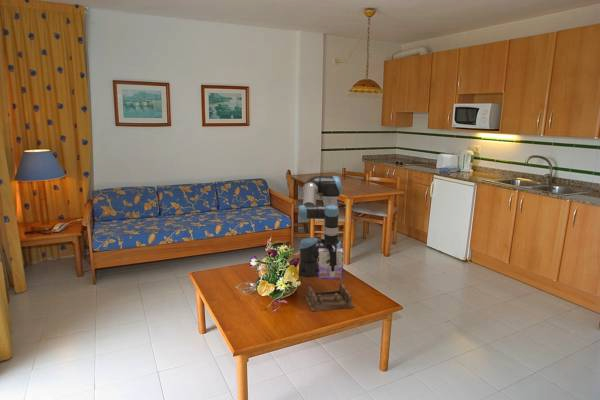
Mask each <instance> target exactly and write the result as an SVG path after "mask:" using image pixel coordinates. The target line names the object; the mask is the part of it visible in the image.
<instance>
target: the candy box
mask: <svg viewBox="0 0 600 400" xmlns="http://www.w3.org/2000/svg"><path fill="white" fill-rule="evenodd" d="M330 252H331V251H330ZM317 262H318V275H317V280H339V281H340V280H343V278H344V248H342V247H340V248H337V250H336V266H335V276H334V277H330V266H329V265H330V253H329V250H328V249H327V248H319V249H318V258H317Z"/></svg>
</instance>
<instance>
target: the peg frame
mask: <svg viewBox="0 0 600 400" xmlns="http://www.w3.org/2000/svg"><path fill="white" fill-rule="evenodd" d="M338 283H339V284H338V286H339V287H338V289H334V290H321V291H320V290H319V291H314V290H313V287H312V286H311V284H308V285H307V294H304V298H305V301H306V303H307V304H308V307H309V309H310V311H311V312H321V311H331V310H342V309H353V308H354V309H355V304H354V303H353V302H352V294H351V293H350V291H349V290H348V289H347V288H346V286H345V284H344V283H343V282H338Z"/></svg>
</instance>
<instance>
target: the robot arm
mask: <svg viewBox="0 0 600 400" xmlns="http://www.w3.org/2000/svg"><path fill="white" fill-rule="evenodd" d="M302 186H303V187H302V191H303V198H302V199H303V201H302V205H301V204H300V205H298V218H299V219H304V220H307V219H309V220H311V219H313V220H315V219H316V220H323V235H322V236H321V237H320V240H319V239H318V238H317V237H312V236H311V237H306V238H303V239H301V240H300V243H299V262H300V263H298V265H299V274H300V275H299V274H298V275H299V276H301V277H307V278H309V277H316V276H317V277H318V249H319V248H327V249H328V250H329V253H330V265H329V266H330V277H334V276H335V266H336V250H337V248H342V247H341V245H342V241H341V240H340V239H339V217H340V216H339V214H340V210H339V207H338V199H339V198H340V196H341V194H343V191H342V181H341V178H340V177H339V176H336V175H314V176H312V177H310V178H308V179H307V180H306V181H305V182H304V184H303V185H302ZM317 194H319V195H321V198H322V199H323V205H316V203H317ZM330 251H331V252H330Z"/></svg>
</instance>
